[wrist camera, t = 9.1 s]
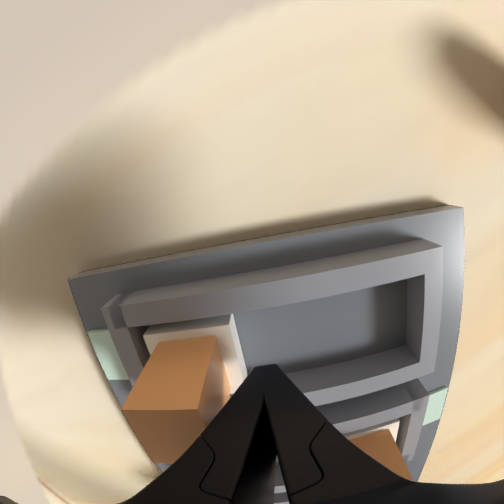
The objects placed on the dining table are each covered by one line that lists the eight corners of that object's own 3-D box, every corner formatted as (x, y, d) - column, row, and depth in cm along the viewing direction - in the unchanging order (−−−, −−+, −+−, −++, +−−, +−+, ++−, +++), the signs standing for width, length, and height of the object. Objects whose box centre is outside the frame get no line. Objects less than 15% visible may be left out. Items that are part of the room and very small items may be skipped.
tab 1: (247, 372, 11) (243, 468, 6) (175, 380, 11) (142, 467, 6) (231, 309, 10) (215, 397, 6) (153, 320, 10) (99, 399, 6)
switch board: (406, 489, 15) (414, 509, 13) (211, 522, 16) (208, 543, 14) (449, 205, 10) (485, 211, 8) (79, 272, 11) (48, 290, 9)
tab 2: (385, 439, 12) (414, 505, 7) (331, 454, 12) (348, 526, 8) (391, 404, 11) (428, 476, 7) (330, 421, 12) (352, 502, 7)
